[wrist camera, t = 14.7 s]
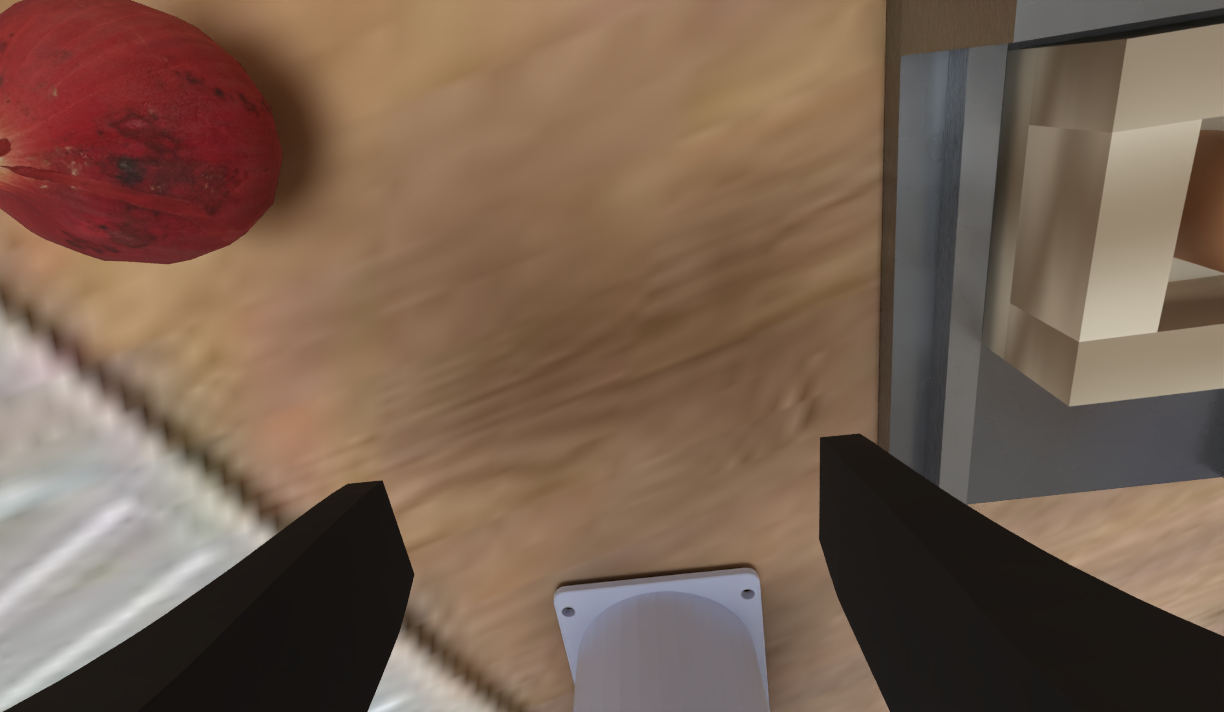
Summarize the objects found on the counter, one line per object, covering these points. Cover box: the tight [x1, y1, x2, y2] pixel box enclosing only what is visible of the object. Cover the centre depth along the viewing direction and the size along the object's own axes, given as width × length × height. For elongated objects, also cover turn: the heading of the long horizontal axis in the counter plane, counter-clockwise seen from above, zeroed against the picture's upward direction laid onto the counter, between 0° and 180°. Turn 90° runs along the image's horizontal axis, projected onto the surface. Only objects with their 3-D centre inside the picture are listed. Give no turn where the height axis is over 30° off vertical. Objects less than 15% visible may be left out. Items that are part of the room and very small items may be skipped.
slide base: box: [878, 0, 1224, 504], centre depth 16 cm, size 16×13×6 cm
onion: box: [0, 0, 283, 264], centre depth 14 cm, size 6×6×8 cm
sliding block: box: [982, 15, 1224, 407], centre depth 15 cm, size 8×8×4 cm
